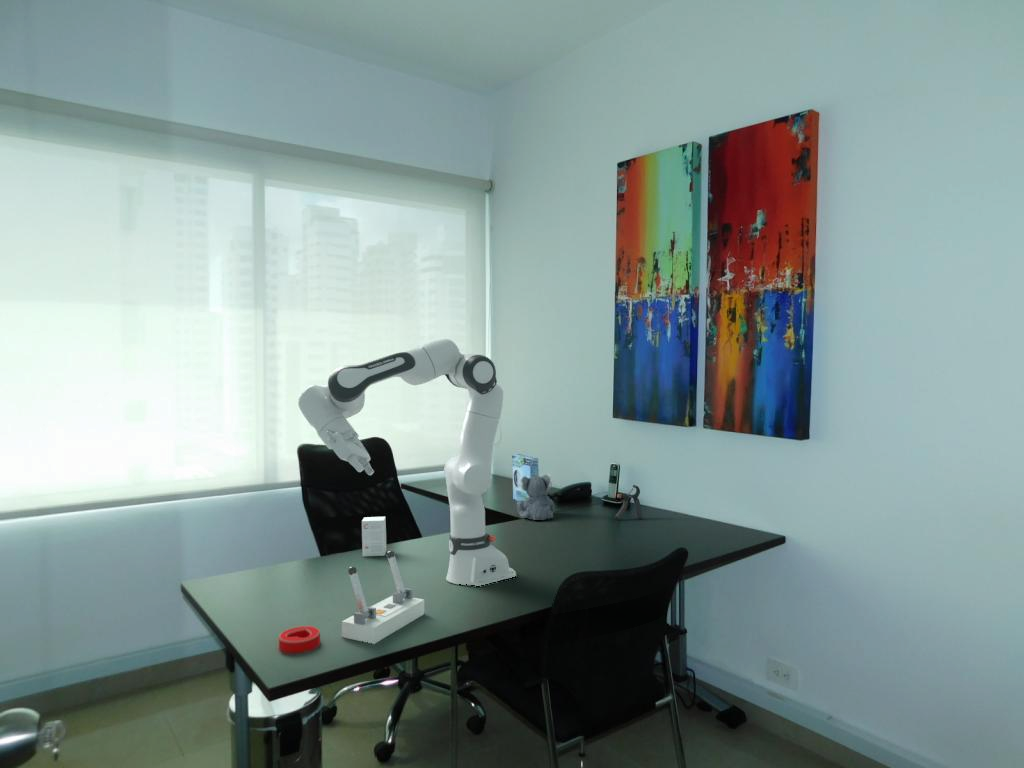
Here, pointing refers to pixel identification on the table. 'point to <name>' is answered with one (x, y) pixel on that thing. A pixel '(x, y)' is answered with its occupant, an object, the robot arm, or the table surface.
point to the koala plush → (536, 498)
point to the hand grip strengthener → (626, 500)
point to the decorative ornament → (299, 639)
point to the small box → (374, 536)
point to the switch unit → (383, 618)
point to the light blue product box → (522, 473)
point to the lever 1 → (359, 592)
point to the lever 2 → (396, 574)
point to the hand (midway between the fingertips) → (366, 472)
